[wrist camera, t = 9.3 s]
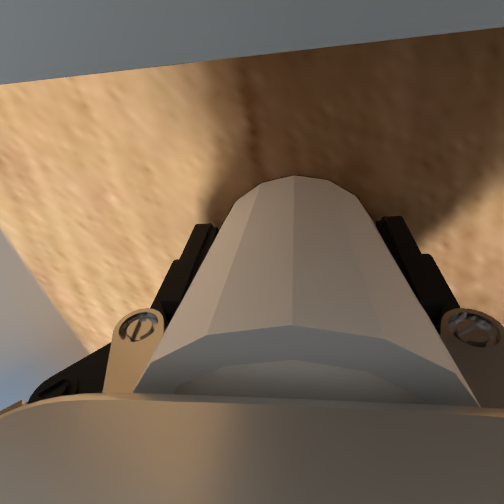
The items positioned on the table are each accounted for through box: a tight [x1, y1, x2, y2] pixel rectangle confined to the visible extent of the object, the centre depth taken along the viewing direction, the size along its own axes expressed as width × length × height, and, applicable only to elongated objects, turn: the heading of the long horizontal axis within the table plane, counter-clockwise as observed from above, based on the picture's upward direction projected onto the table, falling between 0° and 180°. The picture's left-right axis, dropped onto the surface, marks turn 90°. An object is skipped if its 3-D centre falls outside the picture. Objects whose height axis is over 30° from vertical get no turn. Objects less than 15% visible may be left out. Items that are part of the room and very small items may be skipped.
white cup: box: [132, 175, 481, 407], centre depth 9 cm, size 7×7×7 cm
